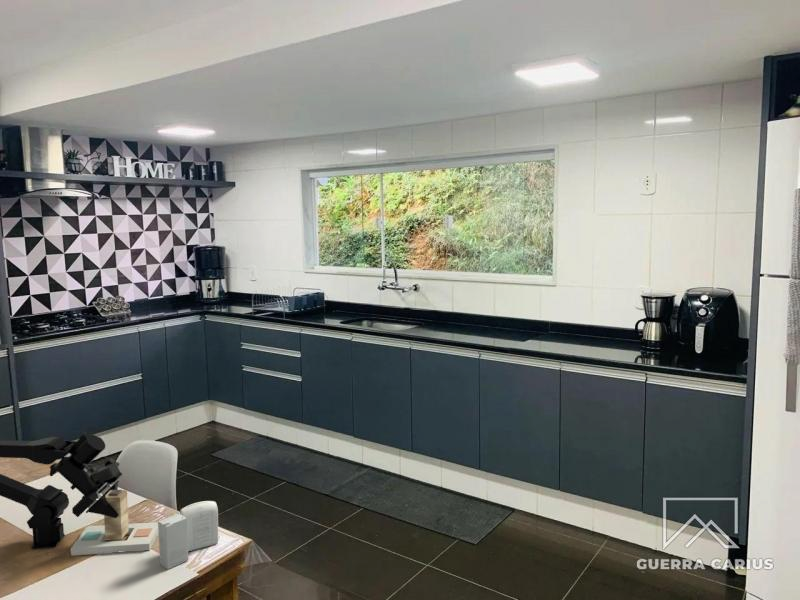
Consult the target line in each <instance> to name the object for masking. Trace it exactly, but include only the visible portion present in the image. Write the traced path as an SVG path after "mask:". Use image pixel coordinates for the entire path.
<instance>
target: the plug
mask: <svg viewBox="0 0 800 600" xmlns="http://www.w3.org/2000/svg"><path fill="white" fill-rule="evenodd" d="M106 501H107V502H108V503H109V504H110V505H111V506H112V507H113V509H114V510H115V511H116V512H117V513H118V517H117V518H113V517H109V516H105V515H103V518H104V519H103V521H104V522H103V523H104V525H105V539H107V540H123V538H124V537H125V536H127V535H126V533H127V532H128V531H129V526H128V524H129V507H128V506H129V505H128V504H129V503H128V490H127V489H124V490H123V489H118V490H110V491H109V492H108V493H107V494H106Z"/></svg>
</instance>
